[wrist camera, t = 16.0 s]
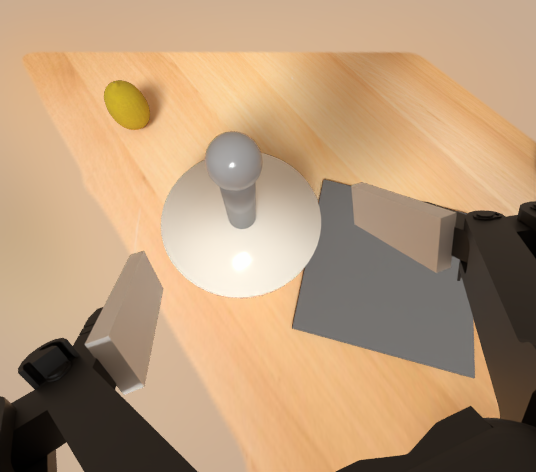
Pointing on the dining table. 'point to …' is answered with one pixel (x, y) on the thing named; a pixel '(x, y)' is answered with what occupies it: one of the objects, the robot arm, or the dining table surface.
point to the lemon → (126, 105)
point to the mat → (382, 294)
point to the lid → (240, 220)
